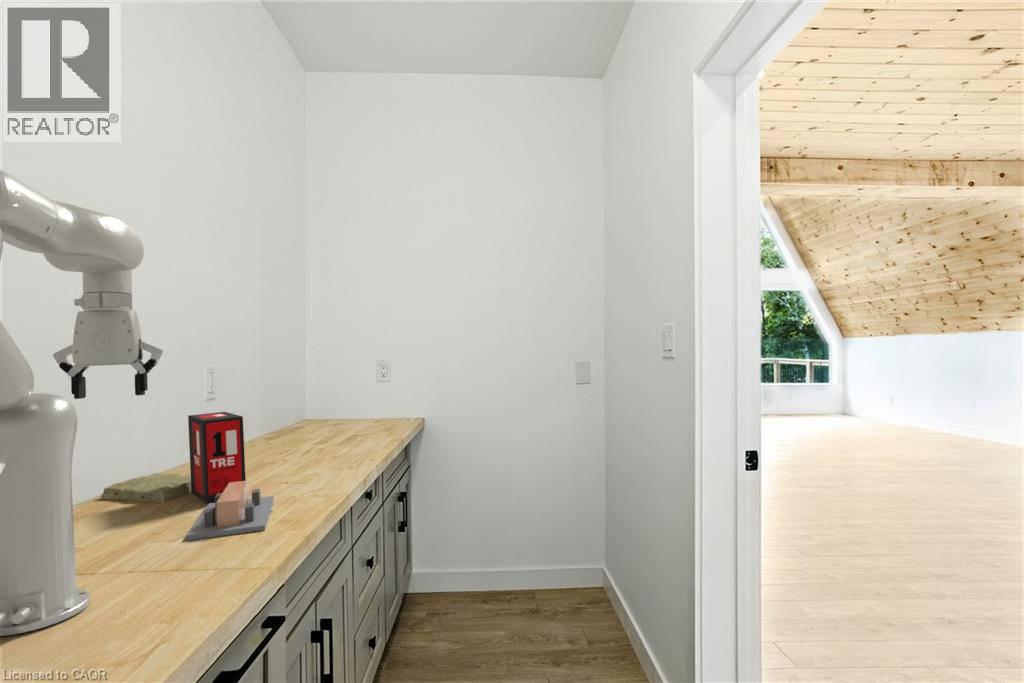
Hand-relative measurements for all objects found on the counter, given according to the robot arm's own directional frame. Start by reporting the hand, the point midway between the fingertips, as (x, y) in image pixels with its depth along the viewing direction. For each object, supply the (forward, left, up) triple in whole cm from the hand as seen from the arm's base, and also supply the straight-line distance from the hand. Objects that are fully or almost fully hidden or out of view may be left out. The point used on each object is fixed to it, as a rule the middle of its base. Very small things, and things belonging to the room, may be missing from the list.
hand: (110, 396), depth 107 cm
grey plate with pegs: (+14, -18, -29) cm, 37 cm away
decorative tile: (+50, +5, -30) cm, 58 cm away
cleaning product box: (+39, -11, -29) cm, 50 cm away
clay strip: (+14, -18, -28) cm, 36 cm away
